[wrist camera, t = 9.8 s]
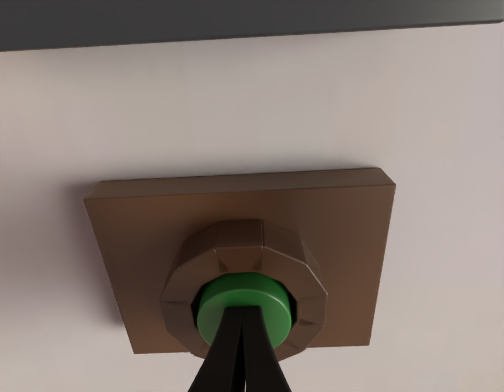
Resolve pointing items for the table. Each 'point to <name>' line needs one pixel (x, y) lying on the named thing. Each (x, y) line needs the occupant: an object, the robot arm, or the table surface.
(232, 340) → the robot arm
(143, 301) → the box
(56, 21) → the cubby
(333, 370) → the table surface
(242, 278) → the button
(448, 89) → the table surface
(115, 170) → the table surface
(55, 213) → the table surface
